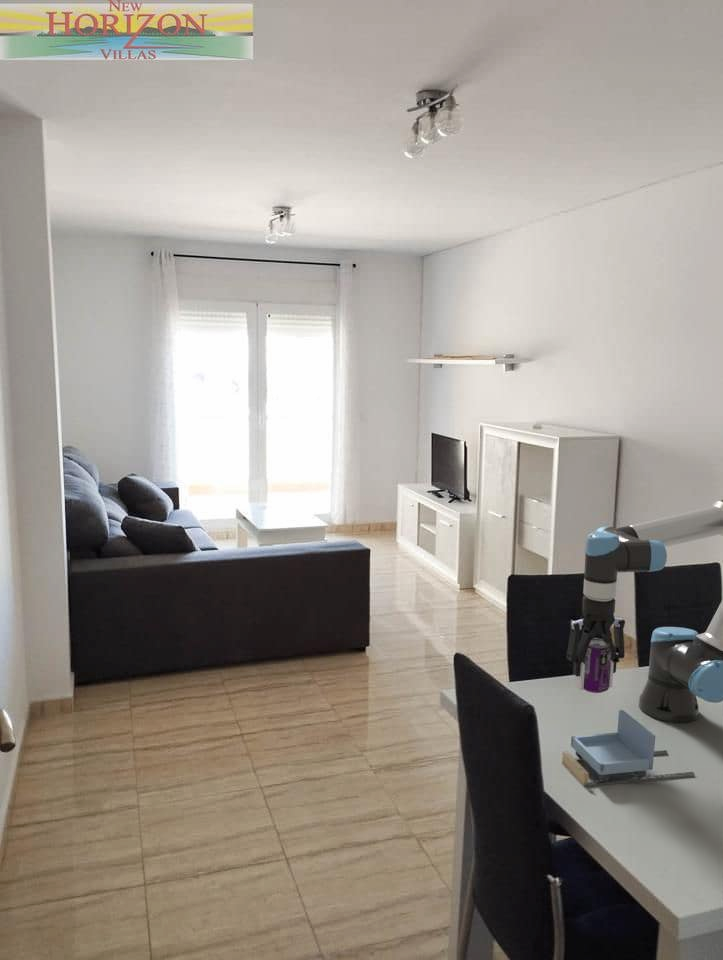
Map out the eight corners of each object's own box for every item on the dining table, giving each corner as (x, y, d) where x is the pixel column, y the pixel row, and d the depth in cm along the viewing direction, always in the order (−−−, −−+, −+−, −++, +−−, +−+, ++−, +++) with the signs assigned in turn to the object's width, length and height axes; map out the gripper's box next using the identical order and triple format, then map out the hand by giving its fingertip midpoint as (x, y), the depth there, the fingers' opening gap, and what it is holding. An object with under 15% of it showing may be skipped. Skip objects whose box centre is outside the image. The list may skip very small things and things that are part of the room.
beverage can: (610, 696, 182) (613, 648, 180) (579, 693, 184) (582, 646, 182) (606, 684, 189) (609, 638, 187) (577, 681, 190) (580, 636, 189)
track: (665, 752, 184) (666, 740, 183) (694, 775, 173) (695, 763, 173) (561, 762, 177) (562, 750, 177) (584, 787, 167) (585, 774, 166)
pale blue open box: (619, 750, 182) (622, 710, 180) (651, 779, 169) (655, 735, 168) (570, 755, 179) (573, 713, 177) (599, 785, 166) (602, 740, 165)
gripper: (627, 589, 189) (621, 677, 192) (553, 594, 184) (549, 683, 188) (645, 598, 181) (638, 689, 185) (568, 603, 177) (563, 696, 180)
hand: (593, 686), depth 186 cm, fingers closed on beverage can, 7 cm apart
